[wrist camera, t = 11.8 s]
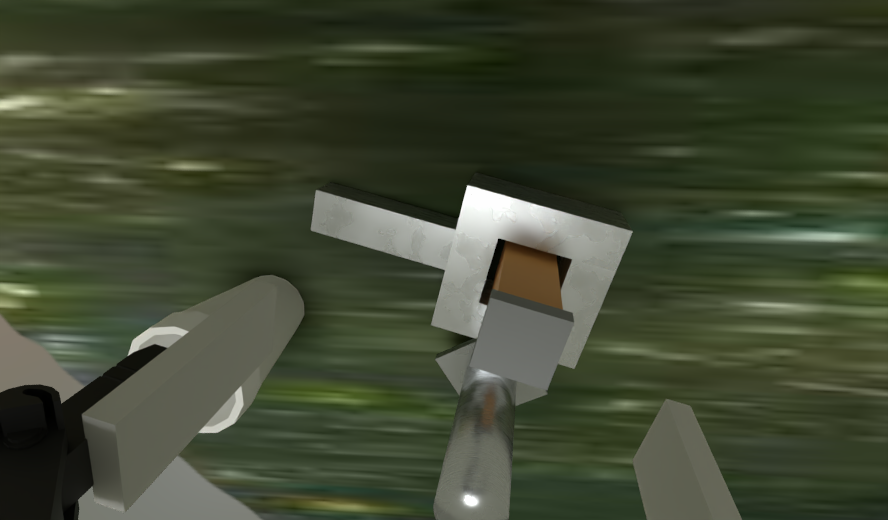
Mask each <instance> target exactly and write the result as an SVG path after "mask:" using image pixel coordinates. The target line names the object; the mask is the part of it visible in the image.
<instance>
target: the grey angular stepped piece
mask: <svg viewBox="0 0 888 520" xmlns="http://www.w3.org/2000/svg"><path fill="white" fill-rule="evenodd" d="M311 231H315V232H318V233H321V234H325V235H328V236H332V237H335V238H338V239H342V240H345V241H349V242H352V243H355V244H359V245H362V246H365V247H369V248H372V249H376V250H379V251H382V252H386V253H389V254H393V255H396V256H399V257H403V258H406V259H410V260H413V261H416V262H420V263H423V264H427V265H430V266H433V267H437V268H440V269H444V270H445V273H444V277H443V281H442V285H441V289H440V292H439V296H438V300H437V304H436V308H435V312H434V316H433V319H432V323H431V325H433V326H436V327H439V328H442V329H446V330H449V331H452V332H456V333H459V334H462V335H465V336H469V337H472V338H473V339H471V340H468V341H466V342H464V343H461V344H459V345H457V346H455V347H452V348H450V349H448V350H445V351H443V352H441V353H438V354H437V356H436V359H435V360H436V361H437V363H438V364H439V366H440V367H441V369H442V370H443V372H444V373H445V375H446V376H447V378H448V379H449V381H450V382H451V384H452V385H453V387H454V388H455V390H456V391H457V393H458V394H459V400H458V405H457V409H456V413H455V417H454V421H453V426H452V430H451V434H450V438H449V442H448V447H447V451H446V455H445V459H444V463H443V468H442V472H441V476H440V480H439V484H438V489H437V493H436V497H435V501H434V506H433V510H434V515H435V517H436V520H509V503H510V487H511V470H512V453H513V437H514V420H515V406H516V405H519V404H522V403H525V402H527V401H530V400H533V399H536V398H538V397H541V396H544V395H546V394H548V393H547V390H544V389H540V388H537V387H534V386H531V385H528V384H524V383H521V382H518V381H515V380H511V379H508V378H505V377H502V376H499V375H495V374H492V373H489V372H486V371H482V370H479V369H476V368H473V367H470V366H469V365H470V360H471V356H472V353H473V349H474V346H475V343H476V340H477V337H478V333H479V330H480V327H481V324H482V320H483V317H484V314H485V311H486V308H487V304H488V301H489V298H490V295H491V292H492V288H493V283H494V280H491V279H487V278H486V277H487V274H488V271H489V267H490V264H491V261H492V257H493V254H494V251H495V247H496V244H497V241H498V238H499V239H503V240H506V241H510V242H513V243H517V244H520V245H524V246H527V247H531V248H534V249H538V250H541V251H545V252H548V253H552V254H555V255H559V256H561V258H560V261H559V264H558V273H559V281H560V290H561V298H562V306H563V310H565V311H569V312H572V313H573V317H574V325H573V327H572V330H571V332H570V335H569V337H568V340H567V342H566V345H565V347H564V350H563V352H562V355H561V357H560V360H559V362H558V364H560V365H564V366H567V367H570V368H574V369H575V366H576V364H577V362H578V359H579V357H580V354H581V352H582V350H583V347H584V345H585V343H586V340H587V338H588V336H589V333H590V331H591V329H592V326H593V324H594V322H595V319H596V317H597V315H598V312H599V310H600V307H601V305H602V303H603V300H604V298H605V296H606V293H607V291H608V289H609V286H610V284H611V282H612V279H613V277H614V275H615V272H616V270H617V268H618V265H619V263H620V260H621V258H622V256H623V253H624V251H625V249H626V246H627V244H628V242H629V239H630V237H631V235H632V232H633V231H632V229H631V228H630V226H629V225H628V223H627V221H626V220H625V218H624V217H623V215H622V214H621V212H618V211H614V210H610V209H607V208H603V207H600V206H596V205H592V204H589V203H585V202H581V201H578V200H574V199H571V198H567V197H563V196H560V195H556V194H552V193H549V192H545V191H542V190H538V189H534V188H531V187H527V186H523V185H520V184H516V183H513V182H509V181H505V180H502V179H498V178H494V177H491V176H487V175H484V174H480V173H475V174H474V176H473V177H472V179H471V180H470V182H469V184H468V185H467V189H466V193H465V197H464V200H463V204H462V208H461V212H460V216H459V219H458V218H455V217H451V216H448V215H444V214H441V213H437V212H434V211H430V210H427V209H423V208H420V207H416V206H412V205H409V204H405V203H402V202H398V201H395V200H391V199H388V198H384V197H381V196H377V195H374V194H370V193H367V192H363V191H360V190H356V189H353V188H349V187H346V186H342V185H339V184H335V183H332V182H330V183H328V184H326V185H325V186H323V187H321V188H319V189H317V190H316V194H315V202H314V210H313V217H312V225H311Z"/></svg>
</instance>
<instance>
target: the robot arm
mask: <svg viewBox="0 0 888 520" xmlns="http://www.w3.org/2000/svg"><path fill="white" fill-rule="evenodd" d="M276 294H277V286H276V285H272V284H269V283H265V282H262V281H258V280H255V281H254V282H252V283H251V284H250V285H249V286H247V287H246V288H245V289H243V290H242V291H241V292H239V293H238V294H237V295H236V296H234V297H233V298H232V299H230V300H229V301H228V302H227V303H225V304H224V305H223V306H221V307H220V308H219V309H217V310H216V311H215V312H214V313H212V314H211V315H210V316H208V317H207V318H206V319H205V320H203V321H202V322H201V323H199V324H198V325H197V326H196V327H194V328H193V329H192V330H190V331H189V332H188V333H186V334H185V335H184V336H183V337H181V338H180V339H179V340H177V341H176V342H175V343H174V344H172V345H171V346H170V347H168V348H166V347H163V346H160V345H157V344H153V345H150V346H148V347H145V348H143V349H140V350H138V351H135V352H133V353H132V354H130V355H129V356H127V357H126V358H125V359H123V360H122V361H120V362H119V363H118V364H117V366H116V367H112V368H111V369H109V370H108V371H107V372H105V373H104V374H103V376H102V377H101V376H100V377H98V378H97V379H95V380H94V381H93V382H91V383H90V384H88V385H87V386H86V387H84V388H83V389H81V390H80V391H79V392H77V393H76V394H74V395H73V396H72V397H70V398H69V399H68V400H66V401H65V402H63V403H62V404H61V400H60V395H59V392H58V391H56V390H55V389H54V388H52V387H49V386H44V385H24V386H20V387H16V388H11V389H8V390H5V391H3V392H1V393H0V520H78V515H79V504H78V499H79V498H80V497H81V496H82V495H83V494H84V493H86V491H88V489H90V488H91V487H92V486H93V492H94V499H95V503H97V504H100V505H103V506H106V507H109V508H112V509H115V510H118V511H121V512H124V513H125V512H126V511H127V510H128V509H129V508H130V507H131V506H132V505H133V503H134V502H135V501H136V500H137V499H138V498H139V497H140V496H141V495H142V493H144V491H145V490H146V489H147V488H148V487H149V486H150V485H151V484H152V483H153V481H154V480H155V479H156V478H157V477H158V476H159V475H160V474H161V473H162V472H163V471H164V470H165V469H166V467H167V466H168V465H169V464H170V463H171V462H172V461H173V460H174V459H175V457H176V456H177V455H178V454H179V453H180V452H181V451H182V450H183V449H184V448H185V447H186V446H187V444H188V443H189V442H190V441H191V440H192V439H193V438H194V437H195V436H196V435H197V433H198V432H199V431H200V430H201V429H202V428H203V427H204V426H205V425H206V424H207V423H208V421H209V420H210V419H211V418H212V417H213V416H214V415H215V414H216V413H217V412H218V411H219V409H220V408H221V407H222V406H223V405H224V404H225V403H226V402H227V401H228V400H229V398H230V397H231V396H232V395H233V394H234V393H235V392H236V391H237V390H238V389H239V388H240V386H241V385H242V384H243V383H244V382H245V381H246V380H247V379H248V378H249V377H250V375H251V374H252V373H253V372H254V371H255V370H256V369H257V368H258V367H259V366H260V365H261V363H262V362H263V361H264V360H265V359H266V358H267V357H268V356H269V355H270V354H271V353H272V349H273V335H274V321H275V308H276ZM633 464H634V468H635V472H636V476H637V481H638V485H639V489H640V493H641V497H642V501H643V505H644V509H645V513H646V517H647V520H742V519H741V517H740V514H739V512H738V510H737V508H736V506H735V503H734V501H733V499H732V497H731V495H730V492H729V490H728V488H727V486H726V484H725V481H724V479H723V477H722V475H721V472H720V470H719V468H718V466H717V464H716V461H715V459H714V457H713V455H712V453H711V450H710V448H709V446H708V444H707V442H706V439H705V437H704V435H703V433H702V431H701V428H700V426H699V424H698V422H697V420H696V417H695V415H694V413H693V411H692V408H691V406H689V405H685V404H682V403H679V402H675V401H672V400H668V399H666V400H665V402H664V403H663V405H662V407H661V409H660V411H659V413H658V414H657V416H656V418H655V420H654V422H653V424H652V426H651V427H650V429H649V431H648V433H647V435H646V437H645V438H644V440H643V442H642V444H641V446H640V448H639V450H638V451H637V453H636V455H635V457H634V459H633Z"/></svg>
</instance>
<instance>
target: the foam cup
mask: <svg viewBox="0 0 888 520" xmlns="http://www.w3.org/2000/svg"><path fill="white" fill-rule="evenodd" d="M255 280H258V281H262V282H265V283H269V284H272V285H276V286H277V294H276V308H275V321H274V335H273V349H272V353H271V354H270V355H269V356H268V357H267V358H266V359H265V360H264V361H263V362H262V363H261V365H260V366H259V367H258V368H257V369H256V370H255V371H254V372H253V373H252V374H251V375H250V377H249V378H248V379H247V380H246V381H245V382H244V383H243V384H242V385H241V386H240V388H239V389H238V390H237V391H236V392H235V393H234V394H233V395H232V396H231V397H230V398H229V400H228V401H227V402H226V403H225V404H224V405H223V406H222V407H221V408H220V409H219V411H218V412H217V413H216V414H215V415H214V416H213V417H212V418H211V419H210V420H209V421H208V423H207V424H206V425H205V426H204V427H203V428H202V429H201V430H200V431H199V432H198V433H217V432H219V431H221V430H223V429H225V428H226V427H228V426H230V425H232V424H234V423H235V422H236V421H237V420H238V419H239V418H240V416H241V415H242V414H243V413H244V412H245V411H246V410H247V408H248V407H249V406H250V405H251V404H252V402H253V400H254V398H255V396H256V394H257V392H258V390H259V388H260V386H261V384H262V382H263V381H264V379H265V378H266V376H267V375H268V373H269V372H270V370H271V368H272V367H273V365H274V364H275V362H276V361H277V359H278V358H279V356H280V354H281V353H282V351H283V350H284V348H285V347H286V345H287V344H288V342H289V341H290V339H291V337H292V336H293V334H294V333H295V331H296V330H297V328H298V326H299V325H300V323H301V321H302V319H303V317H304V301H303V300H302V298H301V296H300V294H299V292H298V290H297V289H296V288H295V287H294V286H293V285H292V284H290V283H289V282H288V281H287V280H285V279H283V278H280V277H277V276H274V275H265V276H259V277H258V278H254V279H252V280H250V281H247V282H245V283H243V284H241V285H239V286H236V287H234V288H232V289H230V290H228V291H226V292H223V293H221V294H219V295H217V296H215V297H213V298H210V299H208V300H206V301H204V302H202V303H199V304H197V305H195V306H193V307H191V308H189V309H186V310H184V311H182V312H175V313H172V314H171V315H169V316H167V317H166V318H164V319H163V320H161V321H160V322H158V323H157V324H155V325H154V326H152V327H150V328H149V329H148V330H146V331H145V332H143V333H142V334H141V335H139V336H138V337H137V338H135V339H134V340H133V341H132V344H131V348H130V351H129V354H128V356H129V355H130V354H132V353H133V352H135V351H138V350H140V349H143V348H145V347H148V346H150V345H153V344H157V345H160V346H163V347H166V348H168V347H170V346H171V345H172V344H174V343H175V342H176V341H177V340H179V339H180V338H181V337H183V336H184V335H185V334H186V333H188V332H189V331H190V330H192V329H193V328H194V327H196V326H197V325H198V324H199V323H201V322H202V321H203V320H205V319H206V318H207V317H208V316H210V315H211V314H212V313H214V312H215V311H216V310H217V309H219V308H220V307H221V306H223V305H224V304H225V303H227V302H228V301H229V300H230V299H232V298H233V297H234V296H236V295H237V294H238V293H239V292H241V291H242V290H243V289H245V288H246V287H247V286H249V285H250V284H251V283H252V282H254V281H255Z"/></svg>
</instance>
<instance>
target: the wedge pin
mask: <svg viewBox="0 0 888 520" xmlns="http://www.w3.org/2000/svg"><path fill="white" fill-rule="evenodd" d="M573 325H574V317H573V313H572V312H569V311H565V310H563V306H562V298H561V290H560V281H559V273H558V265H557V256H556V255H555V254H552V253H548V252H545V251H541V250H538V249H534V248H531V247H527V246H524V245H520V244H517V243H513V242H510V241H506V240H505V244H504V247H503V250H502V253H501V257H500V260H499V263H498V266H497V270H496V273H495V278H494V283H493V288H492V292H491V295H490V298H489V301H488V304H487V308H486V311H485V314H484V317H483V320H482V324H481V327H480V330H479V333H478V337H477V340H476V343H475V346H474V349H473V353H472V356H471V360H470V365H469V366H470V367H473V368H476V369H479V370H482V371H486V372H489V373H492V374H495V375H499V376H502V377H505V378H508V379H511V380H515V381H518V382H521V383H524V384H528V385H531V386H534V387H537V388H540V389H544V390H547V389H548V387H549V384H550V382H551V379H552V377H553V374H554V372H555V369H556V367H557V364H558V362H559V360H560V357H561V355H562V352H563V350H564V347H565V345H566V342H567V340H568V337H569V335H570V332H571V330H572V327H573Z"/></svg>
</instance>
